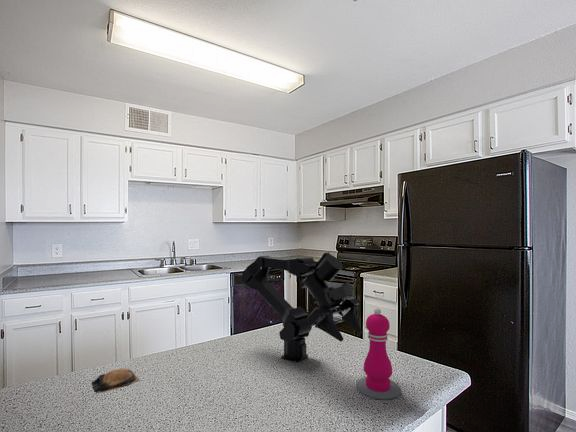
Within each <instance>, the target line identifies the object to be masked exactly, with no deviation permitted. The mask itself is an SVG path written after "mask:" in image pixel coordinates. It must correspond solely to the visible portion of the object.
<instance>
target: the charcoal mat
mask: <svg viewBox="0 0 576 432" xmlns="http://www.w3.org/2000/svg"><path fill="white" fill-rule="evenodd" d="M366 377H367V376H365V377H363V378H360V379H358V380H357V381H356V390H357V391H358V392H359V393H360V394H361V395H363V396H365V397H368V398H370V399H373V400H374V399H375V400H380V401H389V400H394V399H396V398H398V397H400V395H401V387H400V386H399V384H397V383H396V382H395V381H393V380H391V379H390V381H391V388H390V390H388V391H386V392H377V391H373V390H371V389H369V388H368V387H367V386H366Z"/></svg>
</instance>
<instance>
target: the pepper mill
mask: <svg viewBox="0 0 576 432" xmlns="http://www.w3.org/2000/svg"><path fill="white" fill-rule="evenodd" d="M373 312H374V313H372V314H369V316H367V318H366V320H365V327H366V329H367V331H368V332H367V339H369V350H368V352H367V355H366V357H365V358H364V362H363V372H364V373H365V375H366V376H365V377H366V386H367V387H368V388H369V389H371V390H373V391H377V392H386V391H388V390H390V388H391V381H392V380H391V379H390V378H391V377H392V375H393V365H392V362H391V359H390V357H389V355H388V353H387V352H388V351H387V341H388V339H389V338H388V336H389V335H388V331H389V330H390V329H391V328H390V320H389V319H388V317H386V316H385V315H383V314H381V313H382V310H381V309H380V308H378V307H377V308H374V310H373ZM390 380H391V381H390Z"/></svg>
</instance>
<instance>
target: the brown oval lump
mask: <svg viewBox="0 0 576 432" xmlns="http://www.w3.org/2000/svg"><path fill="white" fill-rule="evenodd" d="M139 381H140V378H139V377H138V376H137V375H136V373H134V371H132V370H131V369H129V368H127V367H126V368H125V367H123V368H117V369H113V370H110V371H109V372H107V373H104V374H99V376H98V377H96V379H95V380H92V381H91V386H92V389H93V391H94V392H97V393H98V392H100V393H102V392H107V391H111V390H114V389H118V388H121V387H124V386H127V385H130V384H131V385H132V384H133V383H137V382H139Z"/></svg>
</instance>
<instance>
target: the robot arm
mask: <svg viewBox="0 0 576 432" xmlns="http://www.w3.org/2000/svg"><path fill="white" fill-rule="evenodd" d="M270 269H274V270H281V271H285V272H288V273H289V274H291V275H293V276H295V277H303V276H306V277H305V278H301V279H300V284H299V289H306V288H307V290H308V292H309V293H310V294H311V295H312V297H313V299H312V303H313V304H317V306H315V308H314V309H313V310H312V311H311V312H310V313H308V312H306V310H305V309H304V308H303V307H302V306H298V307H293V306H292V305H291V304H290V303H289V302H288V301H287V300H286V299H285V298H284V297H283V296H282V294H280V293H279V292H278V290H277V289H275V288H274V287H273V285H272V284H270V283H269V281H268V280H269V279H268V274H269V273H270ZM342 269H343V263H342V262H341V260H340V259H339V258H337V257H336V256H334V255H332V254H331V253H330V252H324V253H323V254H322V256H321V257H320V258H319V260H318V261H315V260H314V258H313V257H312V256H301V257H294V258H288V257H279V256H278V257H277V256H270V255H260V256H258V257H256V258H255V260H254V261H253V262H252V263H250V264H249V265H248V266H247V267H245V269H244V270H243V271H242V273H241V282H242V283H243V284H244V286H246V287H247V288H248V289H251V290H254V291H255V292H257V293H258V294H260V296H261V297H262V298H263V299H264V300H265V301H266V302H267V304H269V306H271V308H272V309H273V310H274V311H275V312H276V313H277V315H278V316H280V318H281V322H282V326H283V328H282V329H281V330H280V331H279V332H278V334H279V338H280V340H282V341H283V354H282V355H281V356H280V359H283V360H287V361H291V362H295V363H300V362H301V361H303V360H304V359H306V358H307V357H308V356H309V355H308V353H307V343H306V338H307V337H309V335H310V333H311V331H312V329H313V328H312V327H313V326H314V328H315V329H319V330H321V331H323V333H327V334H328V335H329V336H331V337H333V338H334V339H336V340H338V341H339V342H343V341H344V340H345V339H344V336H343V335H342V333H341V332H340V330H339V328H338V325H337V324H336V323H335V321H334V315H335V314H339V316H341V319H342V320H343V321H344V322H345V323H346V324H347V325H348V326H349V327H351V329H353V330H354V331H355V332H356V333H357V334H358V335H359V334H361V333H363V330H362V328H361V324H360V322H359V319H358V315H357V309H358V308H359V305H360V302H359V300H357V298H356V297H352V296H354V290H355V287H354V286H353V285H352V284H351V283H350V282H349V281H348V282H345V283H342V284H341V286H339V287H336V288H335V287H334V286H329V284H328V283H327V282H331V281H332V280H333V279H334V278H335V277H336V276H337V274H338V273H340V271H341V270H342Z"/></svg>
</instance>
